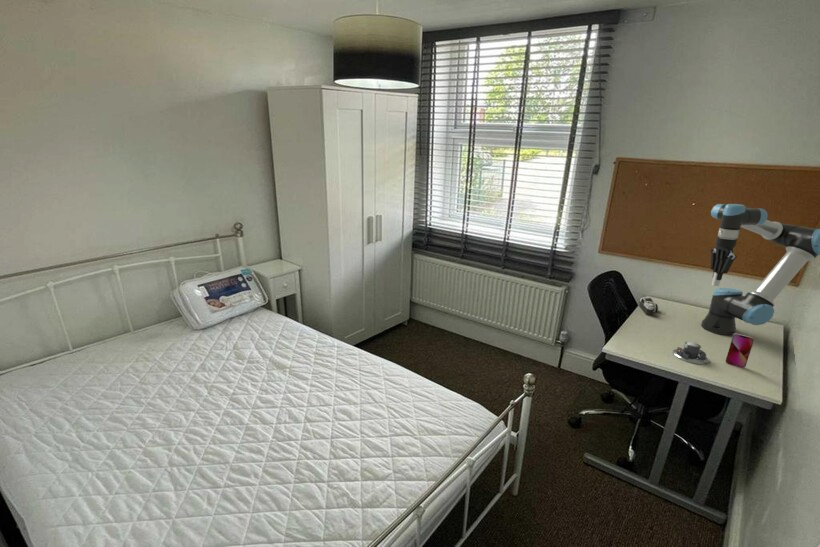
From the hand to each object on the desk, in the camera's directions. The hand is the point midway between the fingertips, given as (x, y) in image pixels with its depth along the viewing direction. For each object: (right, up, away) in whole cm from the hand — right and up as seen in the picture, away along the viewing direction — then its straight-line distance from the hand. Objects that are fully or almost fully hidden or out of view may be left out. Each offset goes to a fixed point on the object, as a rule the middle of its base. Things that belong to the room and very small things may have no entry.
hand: (715, 285), depth 192 cm
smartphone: (+2, -36, -10) cm, 38 cm away
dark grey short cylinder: (-15, -33, -4) cm, 37 cm away
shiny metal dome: (-15, -34, -4) cm, 37 cm away
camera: (-5, -19, +46) cm, 50 cm away
